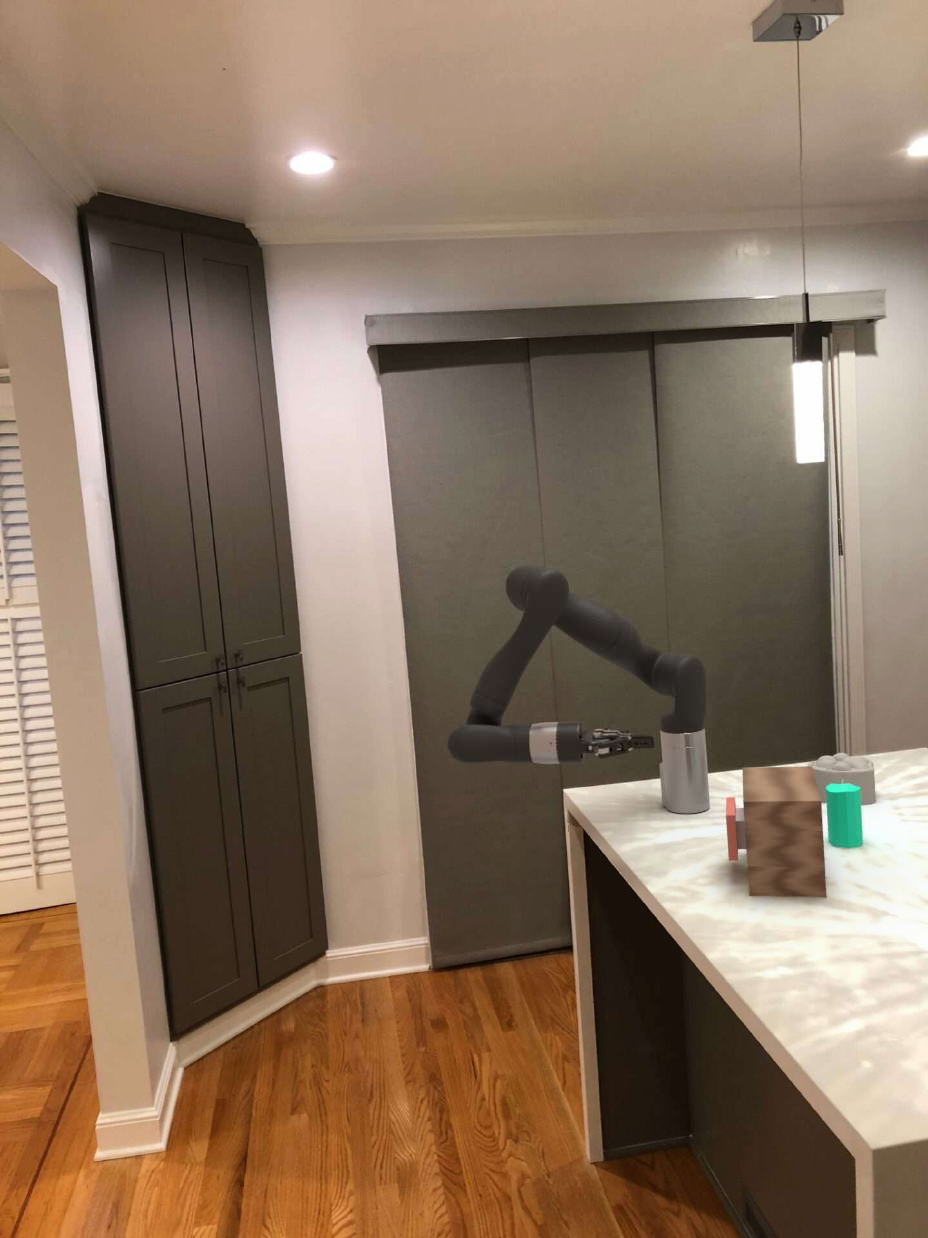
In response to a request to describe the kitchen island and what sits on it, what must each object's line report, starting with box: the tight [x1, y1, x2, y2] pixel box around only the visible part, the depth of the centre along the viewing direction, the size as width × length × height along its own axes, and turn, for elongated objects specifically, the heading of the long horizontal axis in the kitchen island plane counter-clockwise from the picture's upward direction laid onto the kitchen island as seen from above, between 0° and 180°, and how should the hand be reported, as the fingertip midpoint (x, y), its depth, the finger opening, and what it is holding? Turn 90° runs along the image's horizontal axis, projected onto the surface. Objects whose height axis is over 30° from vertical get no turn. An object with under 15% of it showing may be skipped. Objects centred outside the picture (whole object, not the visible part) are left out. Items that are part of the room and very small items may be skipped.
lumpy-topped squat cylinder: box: [807, 752, 877, 806], centre depth 203 cm, size 10×13×9 cm
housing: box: [742, 765, 827, 898], centre depth 166 cm, size 12×20×16 cm, turn 164°
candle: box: [826, 779, 864, 849], centre depth 177 cm, size 6×6×12 cm
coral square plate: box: [725, 796, 746, 862], centre depth 167 cm, size 10×10×8 cm
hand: (654, 741), depth 170 cm, fingers closed
